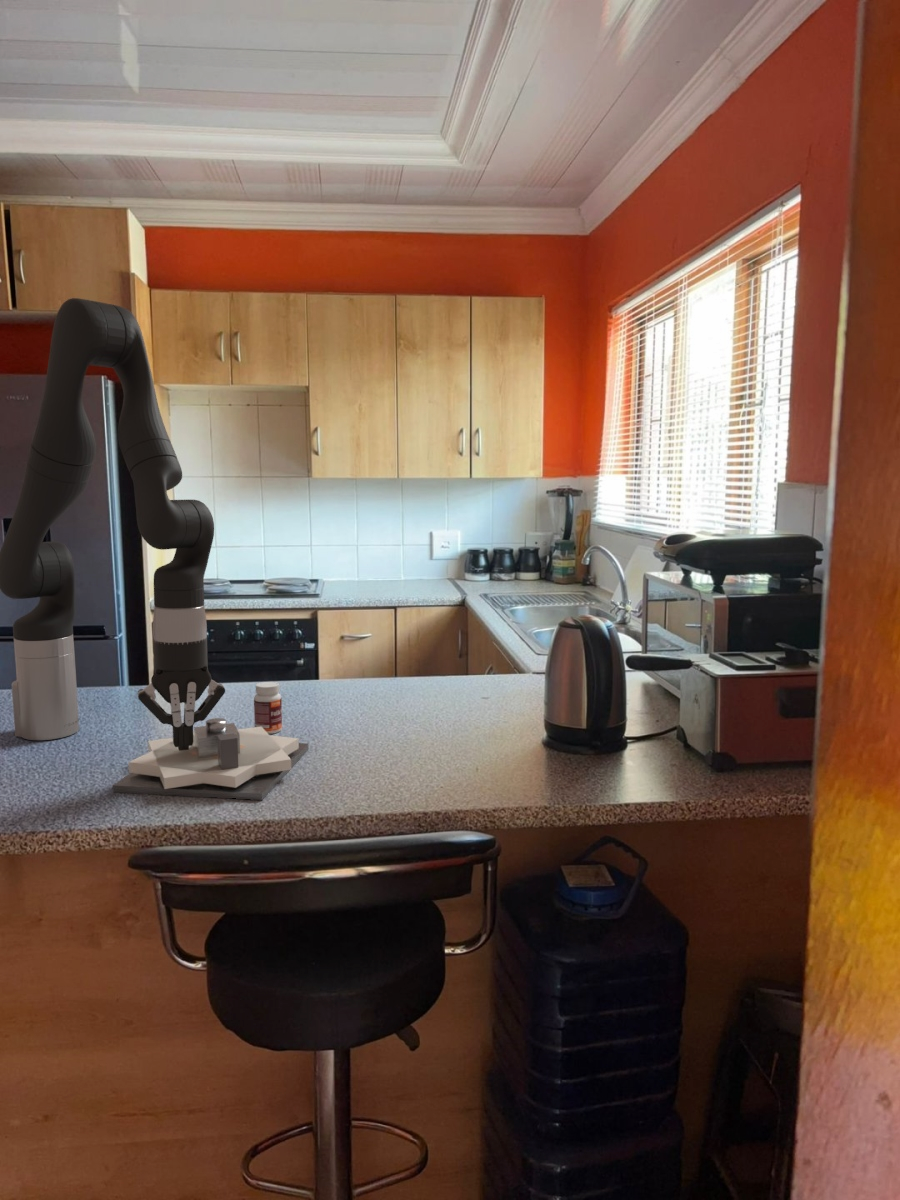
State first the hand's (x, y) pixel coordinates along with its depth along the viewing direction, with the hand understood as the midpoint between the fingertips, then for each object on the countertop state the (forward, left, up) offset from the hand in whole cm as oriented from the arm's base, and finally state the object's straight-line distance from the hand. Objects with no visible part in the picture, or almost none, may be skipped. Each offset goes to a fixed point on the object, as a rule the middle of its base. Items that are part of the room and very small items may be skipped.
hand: (183, 748), depth 126 cm
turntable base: (+4, +3, -4) cm, 6 cm away
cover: (+4, +3, -1) cm, 5 cm away
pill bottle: (+5, +23, -4) cm, 23 cm away
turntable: (+4, +3, -2) cm, 6 cm away
